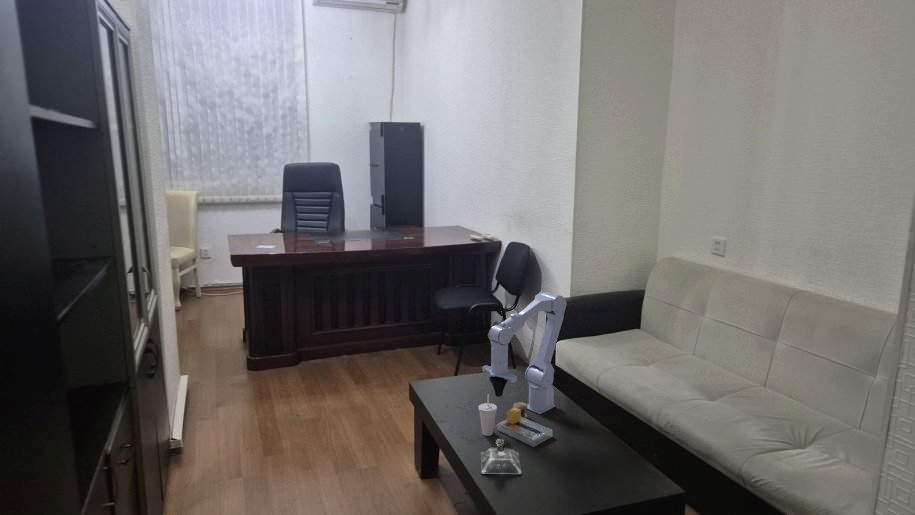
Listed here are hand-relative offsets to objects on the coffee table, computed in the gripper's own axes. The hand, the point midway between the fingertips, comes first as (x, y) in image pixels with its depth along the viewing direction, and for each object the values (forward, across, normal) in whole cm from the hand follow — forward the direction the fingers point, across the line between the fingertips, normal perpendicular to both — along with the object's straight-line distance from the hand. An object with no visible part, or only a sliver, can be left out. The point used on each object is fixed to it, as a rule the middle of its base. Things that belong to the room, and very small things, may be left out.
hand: (498, 395), depth 210 cm
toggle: (+7, +7, 0) cm, 10 cm away
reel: (+10, +3, +9) cm, 14 cm away
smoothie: (+10, +3, -9) cm, 14 cm away
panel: (+10, +12, 0) cm, 16 cm away
